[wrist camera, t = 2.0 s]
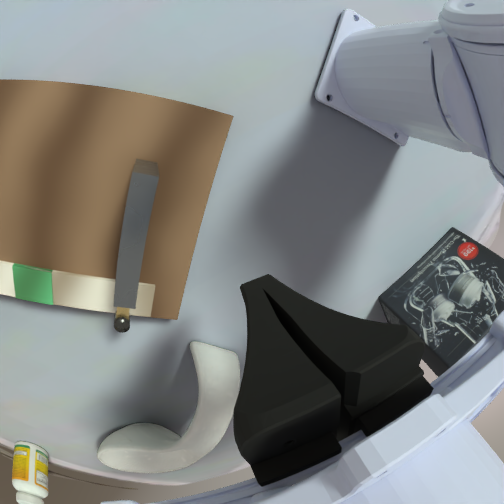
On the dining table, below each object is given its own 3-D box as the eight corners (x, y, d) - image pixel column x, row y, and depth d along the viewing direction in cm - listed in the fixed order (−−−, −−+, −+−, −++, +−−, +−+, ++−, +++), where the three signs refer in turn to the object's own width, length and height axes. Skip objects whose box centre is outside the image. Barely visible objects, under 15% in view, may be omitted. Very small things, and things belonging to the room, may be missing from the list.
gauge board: (226, 115, 17) (257, 119, 12) (174, 307, 22) (186, 360, 17) (-30, 81, 9) (-77, 82, 4) (-36, 273, 14) (-65, 316, 10)
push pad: (157, 162, 15) (159, 176, 12) (130, 315, 19) (131, 352, 16) (136, 158, 14) (132, 171, 11) (113, 313, 18) (111, 350, 15)
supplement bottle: (51, 449, 26) (52, 509, 18) (45, 459, 27) (46, 513, 19) (16, 435, 23) (12, 496, 15) (13, 447, 24) (11, 502, 16)
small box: (452, 223, 29) (530, 273, 19) (455, 260, 33) (520, 308, 23) (376, 296, 29) (451, 371, 19) (387, 326, 33) (448, 392, 23)
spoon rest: (168, 457, 33) (179, 499, 27) (88, 444, 27) (91, 491, 21) (263, 354, 28) (293, 412, 22) (149, 322, 22) (157, 395, 16)
